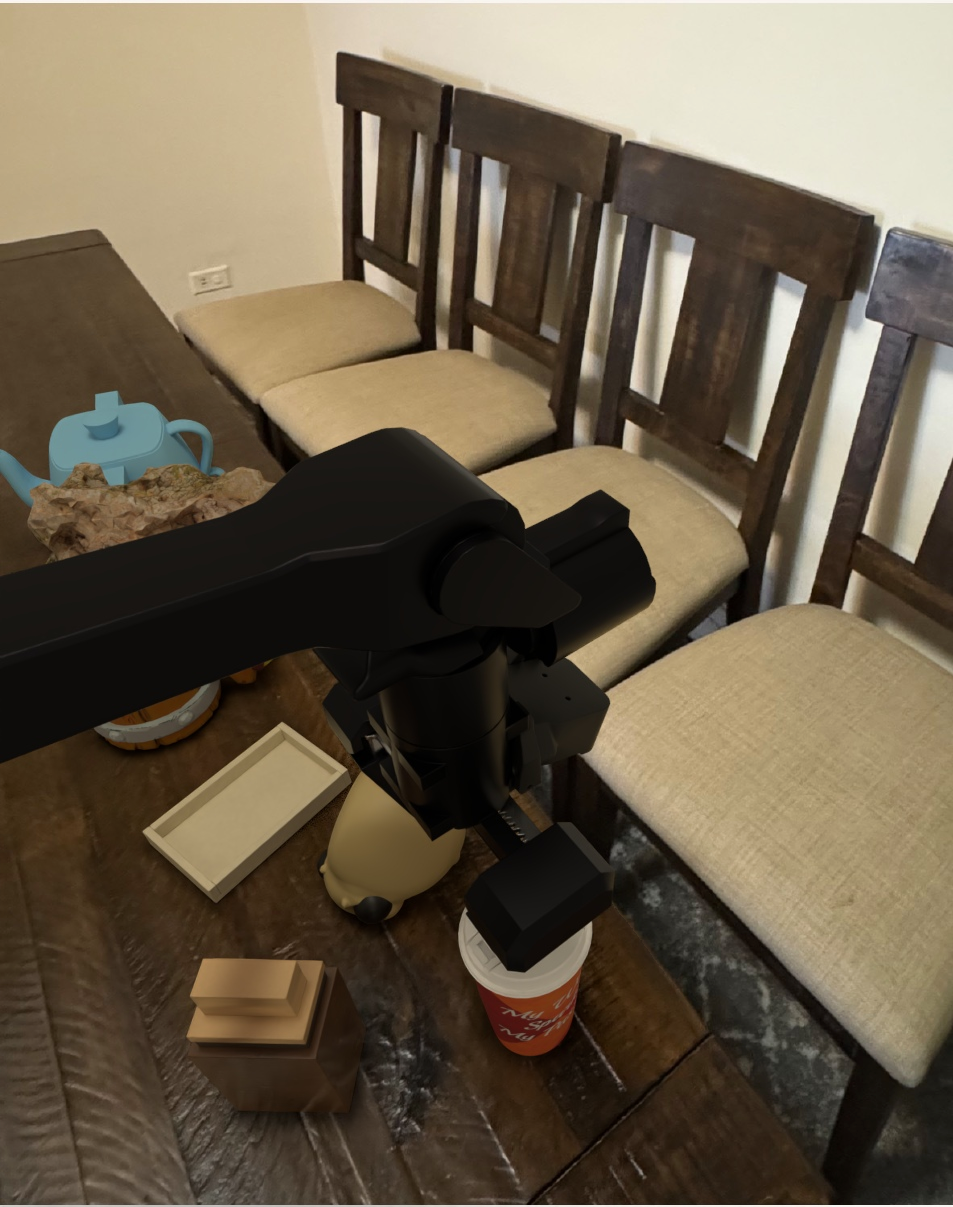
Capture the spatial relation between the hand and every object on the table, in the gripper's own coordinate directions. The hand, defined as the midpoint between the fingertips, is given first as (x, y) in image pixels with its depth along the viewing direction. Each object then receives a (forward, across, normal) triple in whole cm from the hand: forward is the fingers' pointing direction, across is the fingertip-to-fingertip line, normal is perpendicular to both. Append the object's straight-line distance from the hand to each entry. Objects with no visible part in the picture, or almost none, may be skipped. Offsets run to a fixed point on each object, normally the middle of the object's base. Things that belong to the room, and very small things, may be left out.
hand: (469, 872), depth 48 cm
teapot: (+15, +64, +3) cm, 66 cm away
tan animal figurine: (+15, +11, 0) cm, 18 cm away
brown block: (+15, +2, +12) cm, 19 cm away
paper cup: (+15, -4, -1) cm, 15 cm away
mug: (+15, +37, +7) cm, 41 cm away
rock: (+12, +46, 0) cm, 48 cm away
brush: (+5, +2, +12) cm, 13 cm away
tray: (+15, +22, +7) cm, 28 cm away
